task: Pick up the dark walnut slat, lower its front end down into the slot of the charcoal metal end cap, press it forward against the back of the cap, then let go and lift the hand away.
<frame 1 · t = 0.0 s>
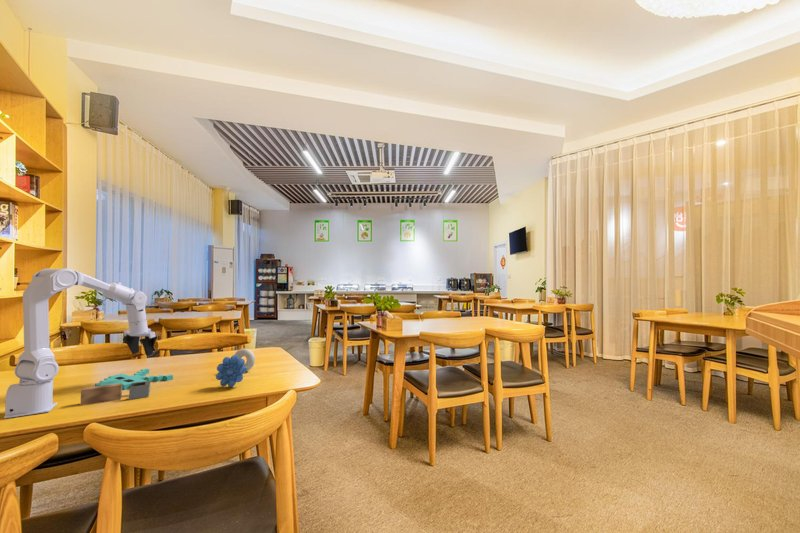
hand: (142, 354, 134), 11 cm above the table, tool pointing down, fingers open, 7 cm apart
end cap: (137, 395, 117), on the table
slat: (101, 401, 112), on the table
donut: (243, 371, 148), on the table
alien figure: (131, 384, 132), on the table
blue bumpy cluster: (232, 386, 129), on the table
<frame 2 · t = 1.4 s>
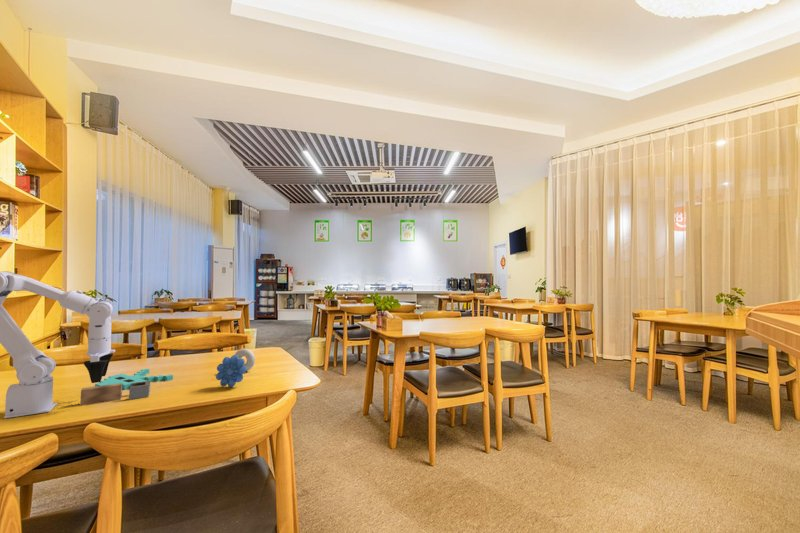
hand: (98, 379, 112), 7 cm above the table, tool pointing down, fingers open, 7 cm apart
nothing on the table moved.
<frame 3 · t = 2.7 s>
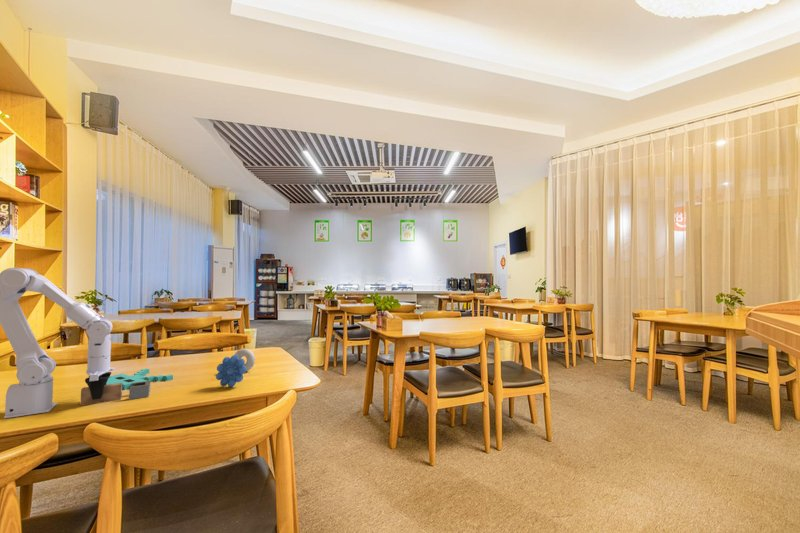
hand: (97, 397, 112), 1 cm above the table, tool pointing down, fingers closed on slat, 2 cm apart
slat: (101, 401, 112), on the table, touching gripper
everything else where it was.
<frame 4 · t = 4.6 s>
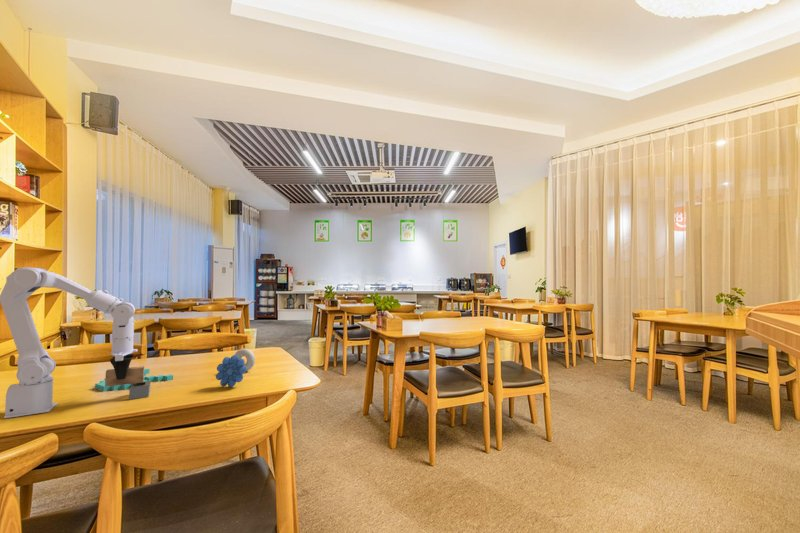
hand: (121, 377, 115), 7 cm above the table, tool pointing down, fingers closed on slat, 2 cm apart
slat: (124, 383, 116), point 5 cm above the table, touching gripper
everything else where it was.
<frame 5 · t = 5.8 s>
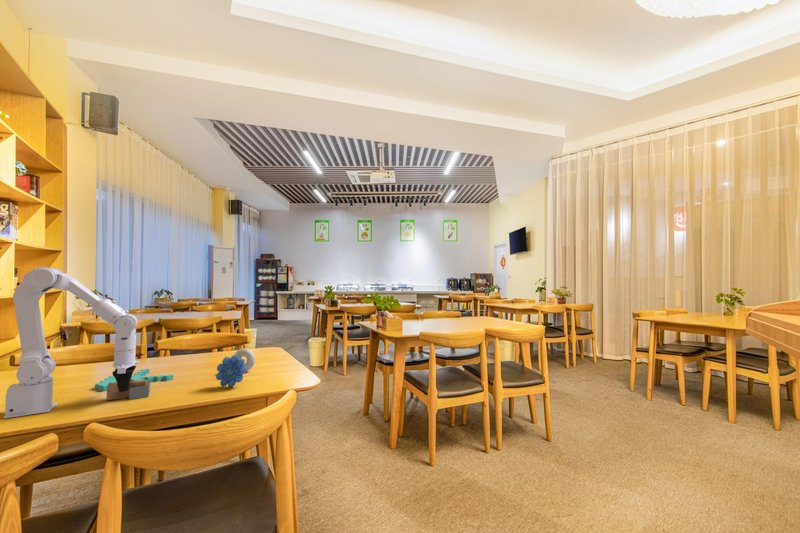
hand: (123, 390, 115), 3 cm above the table, tool pointing down, fingers closed on slat, 2 cm apart
slat: (126, 396, 116), on the table, touching gripper
everything else where it was.
when the fingers open (3 cm above the table, at t = 6.6 s): slat stays where it is, on the table.
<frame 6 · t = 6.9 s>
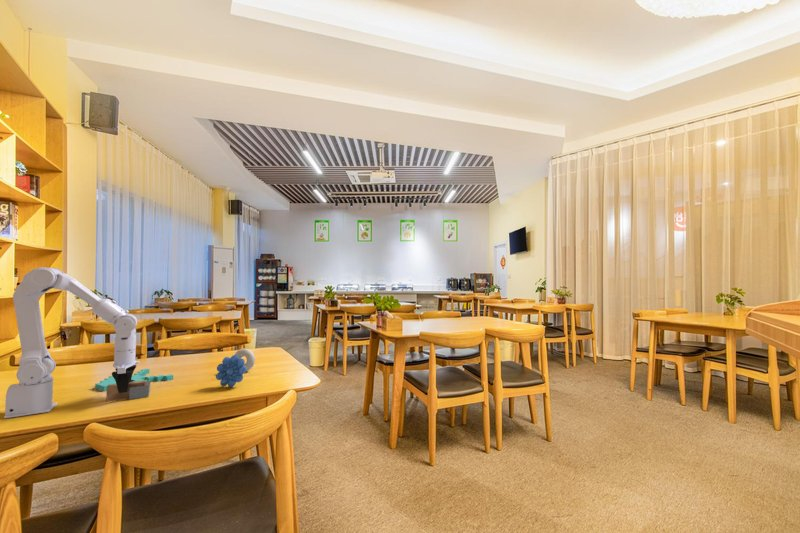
hand: (123, 390, 115), 3 cm above the table, tool pointing down, fingers open, 5 cm apart
slat: (126, 398, 116), on the table
everything else where it was.
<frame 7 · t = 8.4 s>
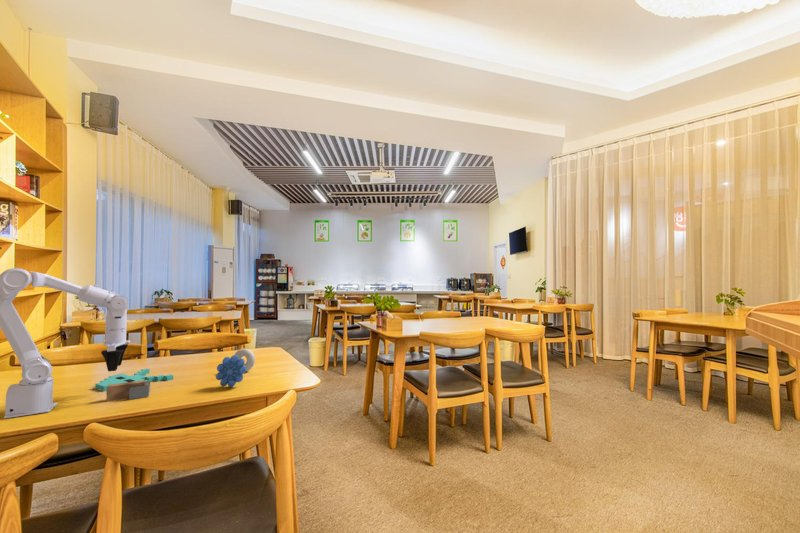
hand: (114, 368, 118), 9 cm above the table, tool pointing down, fingers open, 7 cm apart
nothing on the table moved.
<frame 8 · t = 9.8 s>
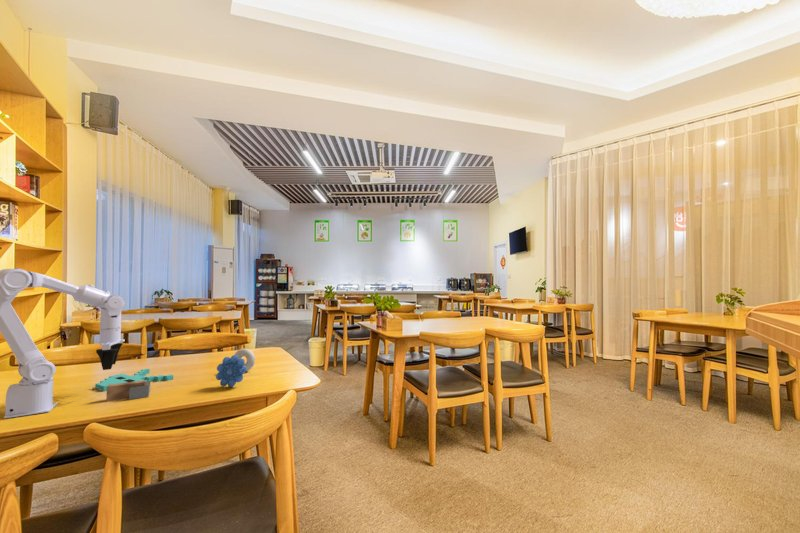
hand: (109, 366, 120), 9 cm above the table, tool pointing down, fingers open, 7 cm apart
nothing on the table moved.
at the end: slat 0.1 cm from the target spot on the end cap, point 0.0 cm above the end cap's base; slat tilted 0°; the gripper is holding nothing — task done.
